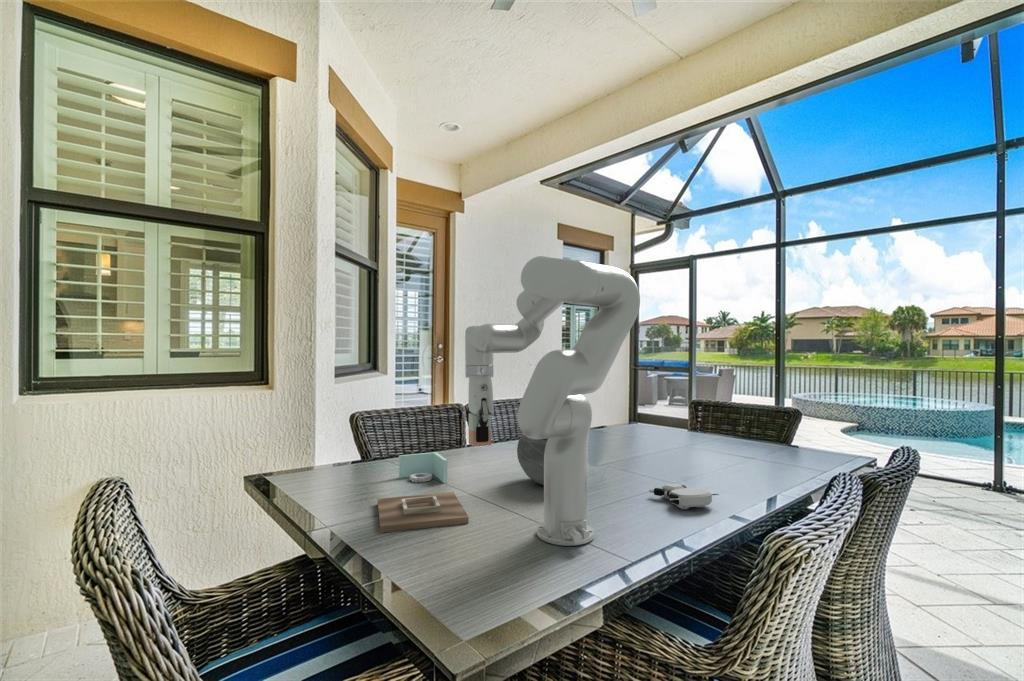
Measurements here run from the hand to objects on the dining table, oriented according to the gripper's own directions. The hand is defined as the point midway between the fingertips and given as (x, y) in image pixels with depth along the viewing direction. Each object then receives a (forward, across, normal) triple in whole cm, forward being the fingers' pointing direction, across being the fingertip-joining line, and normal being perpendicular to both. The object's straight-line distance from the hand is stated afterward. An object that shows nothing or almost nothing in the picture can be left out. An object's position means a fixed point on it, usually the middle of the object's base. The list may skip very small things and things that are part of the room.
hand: (479, 439), depth 129 cm
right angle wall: (+17, +25, +12) cm, 33 cm away
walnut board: (+17, -4, +16) cm, 24 cm away
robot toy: (+18, -16, -51) cm, 57 cm away
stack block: (+1, 0, 0) cm, 1 cm away
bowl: (+17, +10, -25) cm, 32 cm away
